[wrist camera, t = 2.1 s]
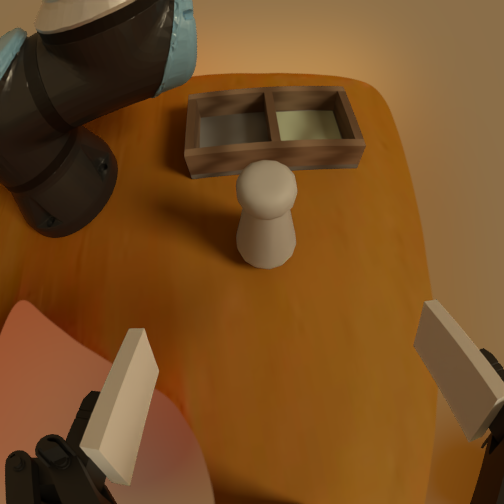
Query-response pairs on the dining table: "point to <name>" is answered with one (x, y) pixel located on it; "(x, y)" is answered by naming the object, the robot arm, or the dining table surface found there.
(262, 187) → the salt shaker
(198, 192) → the dining table surface
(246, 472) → the dining table surface
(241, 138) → the wooden compartment tray
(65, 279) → the dining table surface
